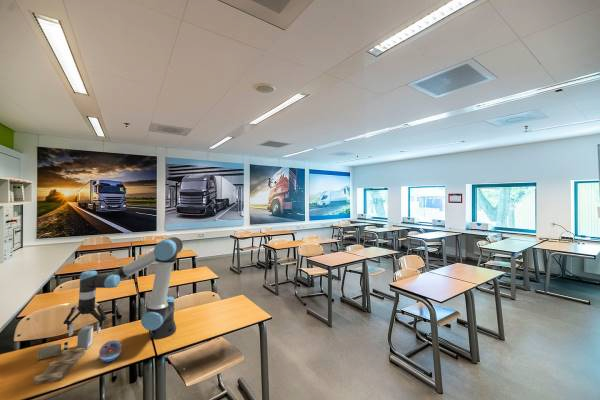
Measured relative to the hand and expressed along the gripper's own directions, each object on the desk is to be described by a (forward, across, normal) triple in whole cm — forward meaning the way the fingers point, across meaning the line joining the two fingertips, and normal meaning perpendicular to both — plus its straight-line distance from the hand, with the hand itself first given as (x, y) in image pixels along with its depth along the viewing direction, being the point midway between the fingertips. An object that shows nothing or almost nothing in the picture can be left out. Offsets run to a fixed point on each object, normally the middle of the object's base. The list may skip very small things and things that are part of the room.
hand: (84, 333), depth 145 cm
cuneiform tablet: (+8, +12, +6) cm, 16 cm away
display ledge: (+8, +2, +18) cm, 20 cm away
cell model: (+8, -19, +17) cm, 27 cm away
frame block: (+8, 0, 0) cm, 8 cm away
